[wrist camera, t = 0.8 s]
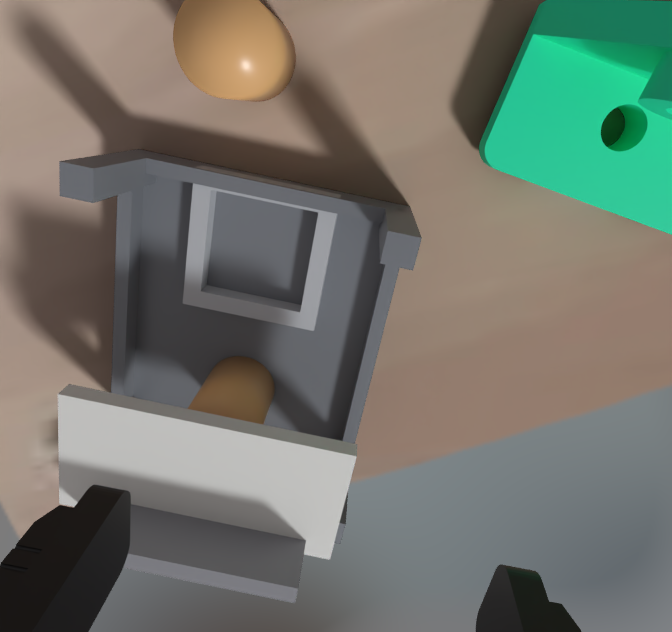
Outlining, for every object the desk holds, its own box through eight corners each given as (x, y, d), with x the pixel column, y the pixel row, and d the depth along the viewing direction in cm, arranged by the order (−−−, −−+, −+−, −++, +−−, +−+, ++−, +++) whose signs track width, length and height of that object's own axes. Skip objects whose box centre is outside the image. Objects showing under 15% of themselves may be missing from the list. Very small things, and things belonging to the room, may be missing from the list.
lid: (69, 384, 26) (18, 429, 22) (357, 444, 26) (354, 499, 22) (69, 491, 29) (24, 547, 25) (331, 545, 29) (324, 609, 25)
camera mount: (468, 158, 29) (515, 181, 19) (532, 9, 26) (625, -52, 16) (663, 230, 29) (802, 287, 20) (746, 92, 26) (955, 81, 17)
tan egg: (218, 1, 26) (177, -29, 21) (302, 19, 26) (282, -6, 21) (210, 92, 28) (169, 87, 23) (288, 108, 28) (267, 108, 23)
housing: (139, 149, 29) (59, 161, 22) (410, 206, 30) (421, 237, 22) (126, 410, 36) (62, 486, 29) (347, 456, 36) (340, 544, 29)
